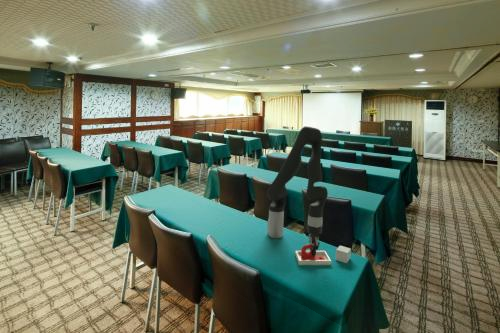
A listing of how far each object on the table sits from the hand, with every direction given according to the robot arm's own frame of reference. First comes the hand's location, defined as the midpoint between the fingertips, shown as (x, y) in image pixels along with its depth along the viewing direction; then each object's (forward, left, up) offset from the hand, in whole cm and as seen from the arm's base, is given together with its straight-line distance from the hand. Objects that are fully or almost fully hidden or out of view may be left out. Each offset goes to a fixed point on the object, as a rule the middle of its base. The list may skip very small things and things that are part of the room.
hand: (312, 254), depth 149 cm
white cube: (+9, +14, -4) cm, 17 cm away
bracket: (+1, -1, -3) cm, 3 cm away
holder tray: (0, 0, -3) cm, 3 cm away
